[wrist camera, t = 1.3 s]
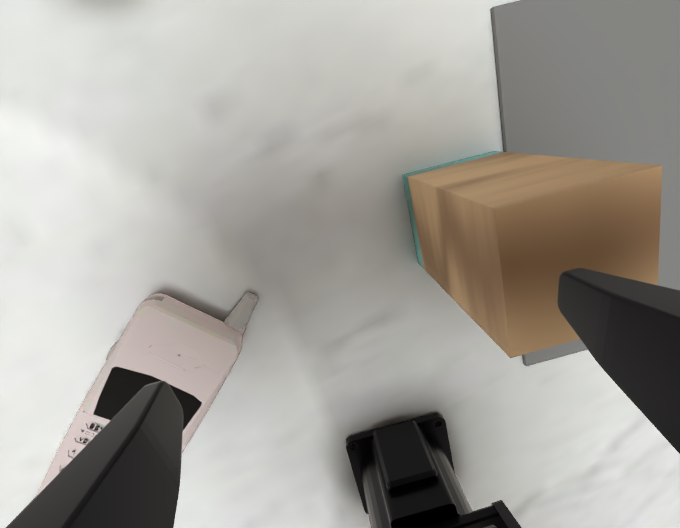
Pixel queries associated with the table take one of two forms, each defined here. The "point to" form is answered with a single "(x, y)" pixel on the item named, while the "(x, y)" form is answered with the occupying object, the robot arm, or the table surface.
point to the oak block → (531, 235)
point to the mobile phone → (160, 367)
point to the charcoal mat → (595, 96)
